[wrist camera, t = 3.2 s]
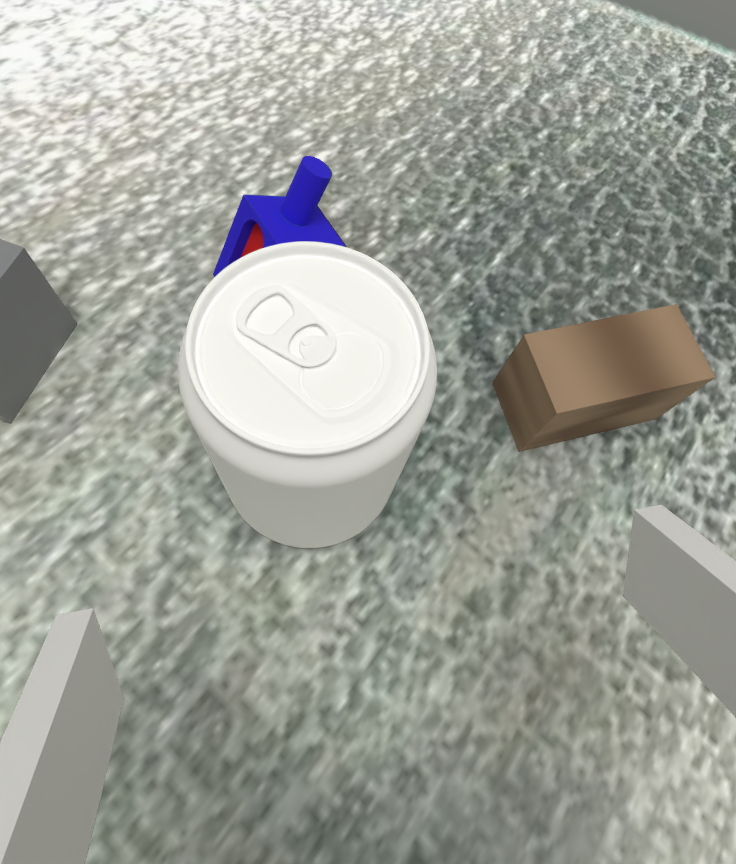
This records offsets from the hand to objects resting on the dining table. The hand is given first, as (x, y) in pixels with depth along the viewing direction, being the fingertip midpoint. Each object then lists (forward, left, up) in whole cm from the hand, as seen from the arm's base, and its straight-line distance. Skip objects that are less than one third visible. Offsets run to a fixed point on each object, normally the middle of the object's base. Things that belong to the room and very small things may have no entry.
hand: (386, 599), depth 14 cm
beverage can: (-6, +4, -12) cm, 15 cm away
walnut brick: (+2, +16, -12) cm, 21 cm away
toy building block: (-15, +11, -12) cm, 22 cm away
